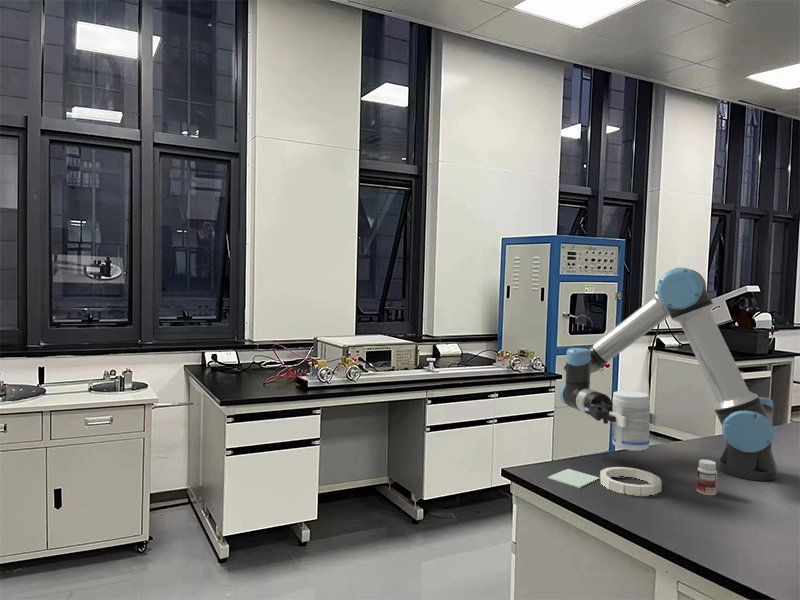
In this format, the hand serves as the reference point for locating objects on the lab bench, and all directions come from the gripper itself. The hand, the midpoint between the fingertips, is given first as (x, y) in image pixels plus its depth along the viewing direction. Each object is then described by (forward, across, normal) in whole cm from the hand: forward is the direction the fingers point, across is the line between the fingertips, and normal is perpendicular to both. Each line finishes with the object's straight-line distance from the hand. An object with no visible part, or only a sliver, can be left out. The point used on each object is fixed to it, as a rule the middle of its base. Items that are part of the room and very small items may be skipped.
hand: (641, 421), depth 152 cm
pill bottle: (+4, -18, -19) cm, 26 cm away
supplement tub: (-4, 0, -8) cm, 9 cm away
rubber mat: (-12, +13, -19) cm, 26 cm away
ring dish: (-4, 0, -19) cm, 19 cm away
